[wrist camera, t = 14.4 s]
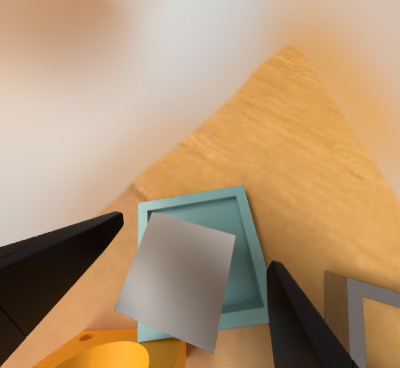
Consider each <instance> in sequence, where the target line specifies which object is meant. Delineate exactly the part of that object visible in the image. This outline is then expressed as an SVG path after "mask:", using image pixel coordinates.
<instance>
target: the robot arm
mask: <svg viewBox="0 0 400 368" xmlns="http://www.w3.org/2000/svg"><path fill="white" fill-rule="evenodd" d="M123 224H124V220H123V214H122V213H121V212H117V211H115V212H111V213H108V214H105V215H102V216H99V217H96V218H92V219H89V220H86V221H83V222H80V223H76V224H73V225H70V226H67V227H64V228H61V229H57V230H54V231H51V232H48V233H45V234H42V235H38V236H37V237H36V236H35V237H32V238H29V239H26V240H22V241H19V242H16V243H12V244H9V245H6V246H2V247H0V367H1V366H2V364H3V363H4V362H5V361H6V360H7V359H8V358H9V357H10V355H11V354H12V353H13V352H14V351H15V350H16V349H17V348H18V347H19V345H20V344H21V343H22V342H23V341H24V340H25V339H26V337H27V336H28V335H29V334H30V333H31V332H32V331H33V330H34V329H35V327H36V326H37V325H38V324H39V323H40V322H41V321H42V320H43V318H44V317H45V316H46V315H47V314H48V313H49V312H50V311H51V310H52V308H53V307H54V306H55V305H56V304H57V303H58V302H59V301H60V299H61V298H62V297H63V296H64V295H65V294H66V293H67V292H68V291H69V289H70V288H71V287H72V286H73V285H74V284H75V283H76V282H77V281H78V279H79V278H80V277H81V276H82V275H83V274H84V273H85V272H86V270H87V269H88V268H89V267H90V266H91V265H92V264H93V263H94V262H95V260H96V259H97V258H98V257H99V256H100V255H101V254H102V253H103V251H104V250H105V249H106V248H107V247H108V245H109V244H110V243H111V241H112V240H113V239H114V237H115V236H116V235H117V233H118V232H119V231H120V229H121V228H122V227H123ZM266 281H267V309H268V318H269V326H270V334H271V342H272V350H273V358H274V366H275V368H359V366H358V365H357V364H356V362H355V361H354V360H352V357H351V356H350V354H349V353H348V352H347V350H346V349H345V348H344V346H343V345H342V344H341V342H340V341H339V339H338V338H337V337H336V335H335V334H334V333H333V331H332V330H331V329H330V327H329V326H328V325H327V323H326V322H325V321H324V319H323V318H322V317H321V315H320V314H319V312H318V311H317V310H316V308H315V307H314V306H313V304H312V303H311V302H310V300H309V299H308V298H307V296H306V295H305V294H304V292H303V291H302V290H301V288H300V287H299V285H298V284H297V283H296V281H295V280H294V279H293V277H292V276H291V275H290V273H289V272H288V271H287V269H286V268H285V267H284V265H283V264H282V263H281V262H278V261H275V260H273V261H272V262H271V264H270V265H269V267H268V269H267V272H266Z"/></svg>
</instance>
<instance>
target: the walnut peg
mask: <svg viewBox="0 0 400 368" xmlns="http://www.w3.org/2000/svg"><path fill="white" fill-rule="evenodd" d="M235 237H236V236H235V235H232V234H228V233H225V232H221V231H218V230H214V229H211V228H207V227H204V226H200V225H197V224H194V223H190V222H187V221H183V220H180V219H176V218H173V217H169V216H166V215H162V214H159V213H155V212H152V214H151V216H150V219H149V222H148V224H147V227H146V229H145V232H144V234H143V237H142V240H141V242H140V245H139V247H138V250H137V253H136V255H135V258H134V260H133V263H132V265H131V268H130V271H129V273H128V276H127V278H126V281H125V283H124V286H123V289H122V291H121V294H120V296H119V299H118V302H117V304H116V307H115V309H114V311H116V312H118V313H120V314H123V315H125V316H127V317H129V318H132V319H134V320H136V321H139V322H141V323H143V324H146V325H148V326H150V327H153V328H155V329H157V330H159V331H162V332H164V333H166V334H169V335H171V336H173V337H176V338H178V339H180V340H182V341H185V342H187V343H189V344H192V345H194V346H196V347H199V348H201V349H203V350H206V351H208V352H210V353H212V354H214V349H215V344H216V338H217V333H218V328H219V322H220V317H221V312H222V306H223V301H224V296H225V290H226V285H227V280H228V274H229V269H230V264H231V258H232V253H233V248H234V242H235Z"/></svg>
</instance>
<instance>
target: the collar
mask: <svg viewBox="0 0 400 368" xmlns="http://www.w3.org/2000/svg"><path fill="white" fill-rule="evenodd" d="M362 296H364V297H367V298H370V299H373V300H376V301H379V302H382V303H386V304H389V305H392V306H395V307H398V308H400V293H397V292H393V291H390V290H387V289H384V288H380V287H377V286H374V285H370V284H367V283H364V282H361V281H357V280H354V279H351V278H348V277H344V276H341V275H337V274H334V273H330V272H327V271H325V322H326V323H327V325H328V326H329V327H330V329H331V330H332V331H333V333H334V334H335V335H336V337H337V338H338V339H339V341H340V342H341V344H342V345H343V346H344V348H345V349H346V350H347V352H348V353H349V354H350V356H351V357H352V360H354V361H355V362H356V364H357V365H358V366H359V368H367V365H366V349H365V334H364V319H363V304H362Z"/></svg>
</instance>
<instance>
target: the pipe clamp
mask: <svg viewBox="0 0 400 368" xmlns="http://www.w3.org/2000/svg"><path fill="white" fill-rule="evenodd" d="M186 358H187V354H186V342H185V341H182V340H180V339H178V338H176V337H171V338H164V339H157V340H151V341H144V342H138V328H132V329H106V330H84V331H82V332H81V333H79V334H78V335H77V336H75V337H74V338H72V339H71V340H70V341H68V342H67V343H65V344H64V345H63V346H61V347H60V348H58V349H57V350H56V351H54V352H53V353H51V354H50V355H49V356H47V357H46V358H44V359H43V360H42V361H40V362H39V363H37V364H36V365H35V366H33V367H32V368H185V363H186Z"/></svg>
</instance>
